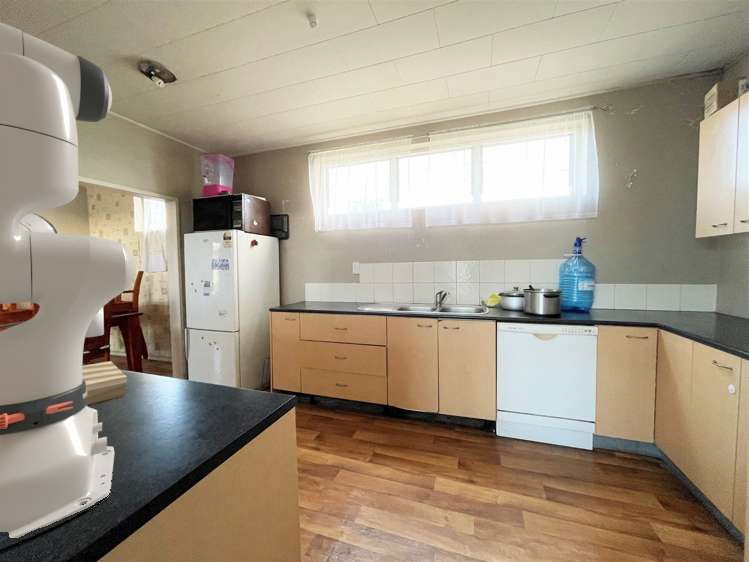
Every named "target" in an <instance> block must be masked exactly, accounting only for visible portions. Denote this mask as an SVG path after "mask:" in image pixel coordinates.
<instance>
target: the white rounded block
mask: <svg viewBox="0 0 749 562" xmlns="http://www.w3.org/2000/svg"><path fill="white" fill-rule="evenodd" d="M104 318H105V317H104V306H103V307H102V309H101V310H100V311H99V312H98V313H97V314H96V316H95V317H94V318H93V320H92V322H91V323H90V325H89V327H88V330H87V332H86V336H85V338H95V337H99V336H103V335H104V334H105V327H104V326H105V325H104V324H105V322H104V321H105V320H104Z"/></svg>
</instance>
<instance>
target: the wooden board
mask: <svg viewBox="0 0 749 562" xmlns="http://www.w3.org/2000/svg"><path fill="white" fill-rule="evenodd" d="M82 380H84V381H85V382H86V388H87V406H88V405H92V404H97V403H100V402H105V401H109V400H113V399H117V397H118V398H121V396H122V397H125V396H126V394H125V393H126V389H125V387H126V385H125V384H126V383H128V376H127V375H126V373H124V372H123V371H122V370H121V369H120V368H118V367H117V365H116V364H114V363H113V362H112V361H111V360H110V361H104V362H98V363H97V362H96V363H92V364H85V365H82Z"/></svg>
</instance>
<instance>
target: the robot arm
mask: <svg viewBox="0 0 749 562" xmlns="http://www.w3.org/2000/svg"><path fill="white" fill-rule="evenodd" d="M112 104H113V92H112V88H111V85H110V83H109V79H108V76H107V75H106V74H105V72H104V70H103V69H102V68H101V67H100V66H98V65H97V64H96V63H94V62H91V61H90V60H88V59H86V58H84V57H83V56H81V55H77V56H76V55H74V54H72V53H70V52H69V51H66V50H64V49H62V48H60V47H58V46H56V45H53V44H52V43H49V42H47V41H45V40H43V39H41V38H38V37H35V36H33V35H31V34H29V33H26V32H24V31H23V30H22V29H20V28H16V27H14V26H11V25H9V24H7V23H4V22H1V21H0V305H4V304H22V303H25V304H26V303H32V304H37V305H38V306H39V309H38V311H37V313H36V314H35V315H34V316H33V317H32V318H29V319H28V320H26V321H24V322H22V323H18V324H16V325H14V326H11V327H9V328H6V329H4V330H2V331H0V532H8V533H9V537H10V538H19V537H21V536H24V535H25V534H27V533H29V532H31V531H34V530H36V529H38V528H42V527H45V526H48V525H50V524H52V523H54V522H56V521H59V520H61V519H63V518H65V517H68V516H70V515H73V514H75V513H77V512H80V511H82V510H84V509H86V508H88V507H90V506H92V505H94V504H95V503H96V502H98V501H100V500H102V499H103V498H105V497H107V496H108V495H109V493H110V494H111V491H110V489H112V482H111V480H112V481H113V473H112V472H114V463H115V448H114V446H109V445H108V436H103V437H100V438H99V432H101V431H103V425H104V424H103V422H102V421H101V422H98V410H97V409H95V408H92V407H89V406H88V405H87V388H86V382H85V381H84V380H82V366H83V357H84V356H83V355H84V347H85V345H84V344H85V339H86V337H85V336H86V332H87V330H88V327H89V325H90V323H91V322H92V320H93V318H94V317H95V316H96V314H97V313H98V312H99V311H100V310H101V309H102V307H103V308H104V307H105V305H107V304H108V303H110V301H112V300H113V299H115V298H116V297H118V296H119V295H121V294H123V292H125V291H126V290H127V289H128V288H129V287H130V286H131V284H132V283H133V281H134V278H135V275H136V262H135V260H134V257H133V255H132V253H131V252H130V251H129V250H128V248H127V247H126V246H125V245H123V244H122V243H121V242H119V241H114V240H110V239H106V238H100V237H96V236H90V235H87V234H85V235H84V234H69V233H58V231H57V229H56V227H55V226H54V225H53V224H52V223H51V222H50V221H49V220H48V219H46V218H45V217H44V216H41V215H39V214H37V213H38V212H43V211H48V210H51V209H56V208H58V207H61V206H65V205H67V204H69V203H71V202H72V201H73V200H74V199H75V198H76V197H77V195H78V194H79V191H80V190H79V188H80V187H79V186H80V185H79V181H80V179H79V137H78V127H77V121H78V122H79V121H80V122H87V123H89V122H90V123H97V122H100V121H103V120H105V119H106V117H107V114H108V113H109V111H110V110H111V107H112ZM109 496H110V495H109ZM109 496H108V497H109ZM108 497H107V498H108ZM85 503H86V504H85ZM82 504H84V505H82Z"/></svg>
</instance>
